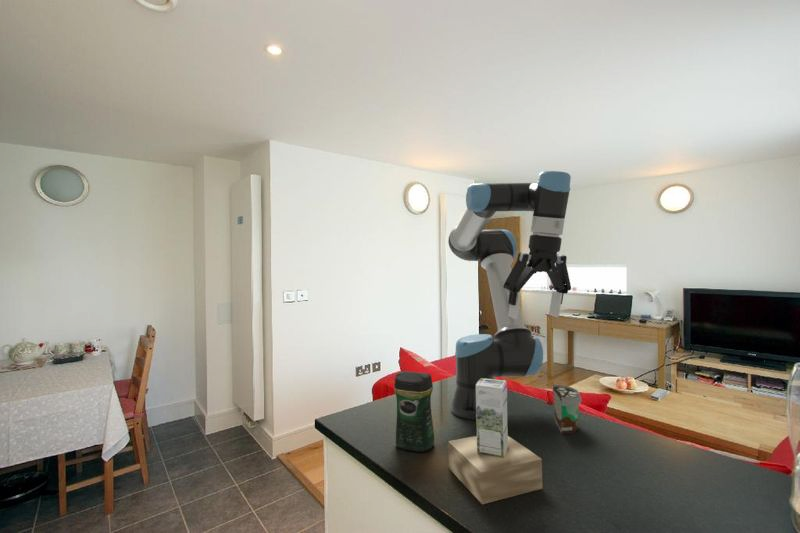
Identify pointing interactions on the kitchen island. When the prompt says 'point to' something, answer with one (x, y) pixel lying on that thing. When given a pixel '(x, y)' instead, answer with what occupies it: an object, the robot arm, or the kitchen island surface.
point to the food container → (566, 408)
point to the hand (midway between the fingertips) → (533, 316)
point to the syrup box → (491, 417)
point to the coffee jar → (414, 411)
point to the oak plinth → (495, 470)
